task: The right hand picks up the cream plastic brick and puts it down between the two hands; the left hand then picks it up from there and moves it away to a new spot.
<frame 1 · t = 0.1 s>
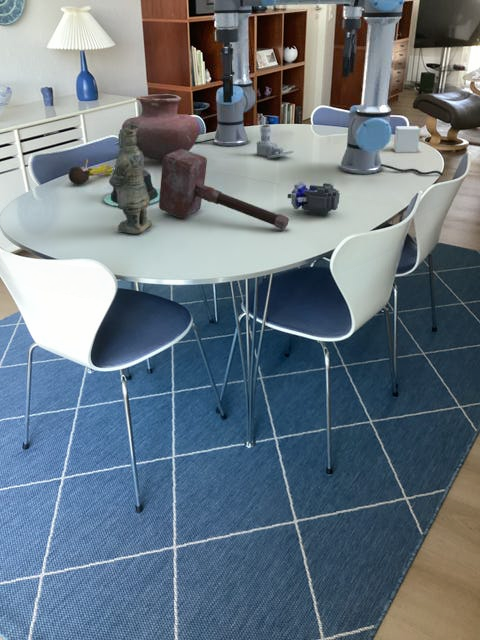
left hand: (347, 74, 237), 28 cm above the table, tool pointing down, fingers open, 13 cm apart
right hand: (228, 99, 188), 28 cm above the table, tool pointing down, fingers open, 13 cm apart
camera: (272, 156, 230), on the table
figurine: (99, 178, 208), on the table
dark dome on dish: (134, 197, 187), on the table
clay pot: (163, 160, 228), on the table
brick: (405, 150, 235), on the table
toy: (312, 213, 171), on the table
statue: (134, 229, 162), on the table
sledgehammer: (224, 220, 166), on the table
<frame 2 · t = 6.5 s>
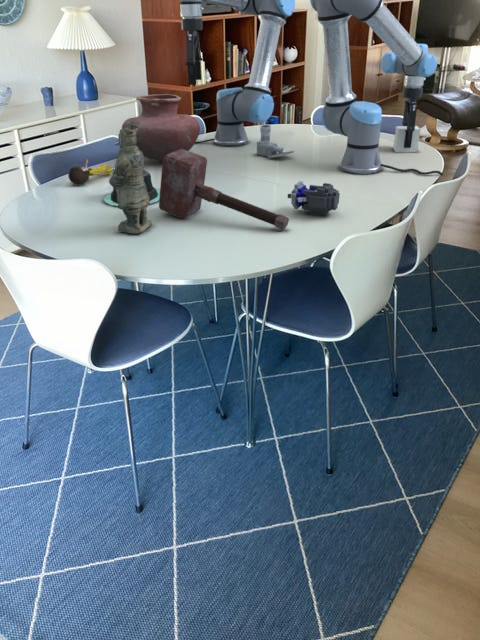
left hand: (195, 82, 209), 30 cm above the table, tool pointing down, fingers open, 13 cm apart
right hand: (405, 145, 234), 2 cm above the table, tool pointing down, fingers closed on brick, 6 cm apart
brick: (405, 150, 235), on the table, touching right hand
everything else where it was.
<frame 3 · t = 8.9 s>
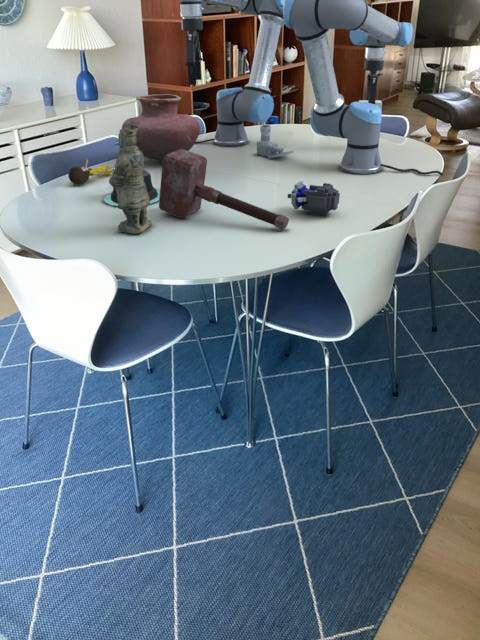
left hand: (195, 82, 209), 30 cm above the table, tool pointing down, fingers open, 13 cm apart
right hand: (368, 120, 232), 12 cm above the table, tool pointing down, fingers closed on brick, 6 cm apart
brick: (368, 125, 233), point 10 cm above the table, touching right hand
everything else where it was.
when the right hand's fingers open (4 cm above the table, at t = 11.5 s): brick drops 2 cm, on the table.
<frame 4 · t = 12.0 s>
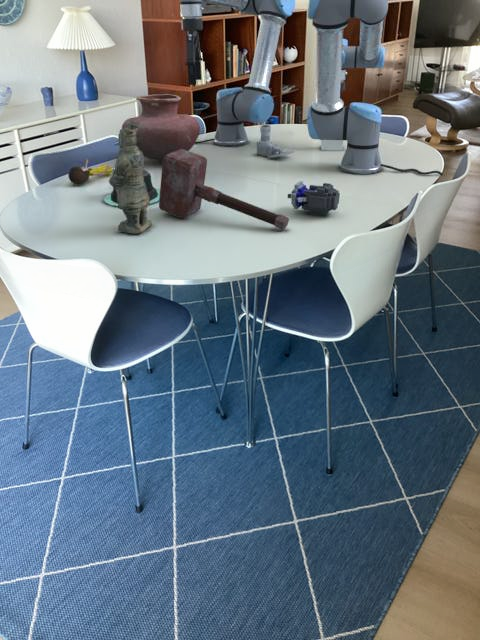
left hand: (195, 82, 209), 30 cm above the table, tool pointing down, fingers open, 13 cm apart
right hand: (332, 134, 238), 6 cm above the table, tool pointing down, fingers open, 13 cm apart
brick: (331, 148, 241), on the table
everything else where it was.
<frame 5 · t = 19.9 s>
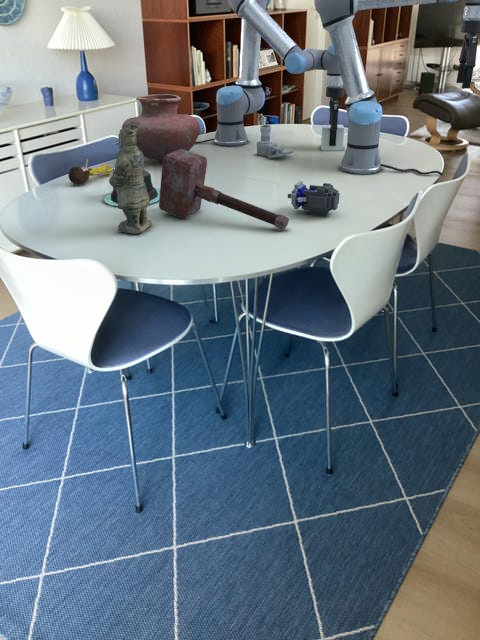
left hand: (331, 143, 240), 2 cm above the table, tool pointing down, fingers closed on brick, 6 cm apart
right hand: (462, 85, 203), 28 cm above the table, tool pointing down, fingers open, 13 cm apart
brick: (331, 148, 241), on the table, touching left hand
everything else where it was.
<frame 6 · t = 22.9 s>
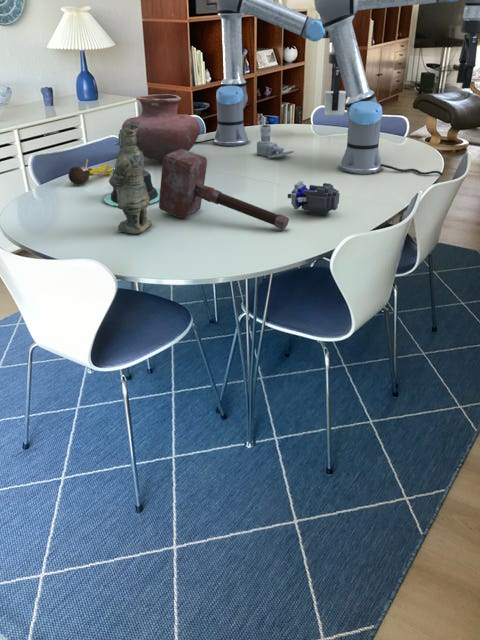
left hand: (334, 109, 254), 12 cm above the table, tool pointing down, fingers closed on brick, 6 cm apart
right hand: (462, 85, 203), 28 cm above the table, tool pointing down, fingers open, 13 cm apart
brick: (334, 113, 255), point 10 cm above the table, touching left hand
everything else where it was.
when the left hand's fingers open (4 cm above the table, at t = 25.8 s): brick drops 2 cm, on the table.
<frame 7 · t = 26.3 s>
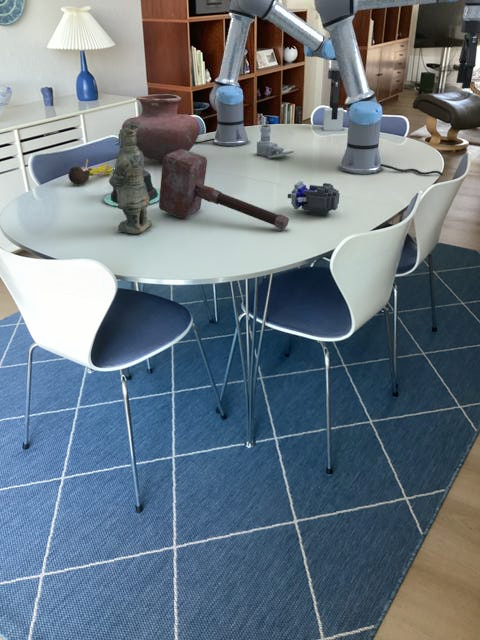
left hand: (333, 116, 272), 6 cm above the table, tool pointing down, fingers open, 13 cm apart
right hand: (462, 85, 203), 28 cm above the table, tool pointing down, fingers open, 13 cm apart
brick: (332, 128, 275), on the table
everything else where it was.
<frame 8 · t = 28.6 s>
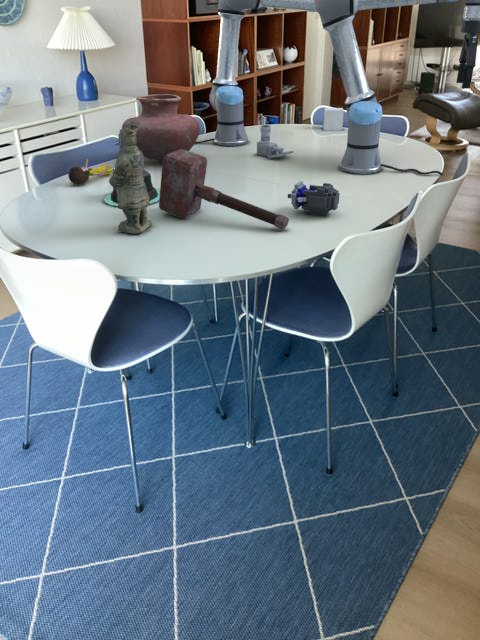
left hand: (335, 76, 263), 24 cm above the table, tool pointing down, fingers open, 13 cm apart
right hand: (462, 85, 203), 28 cm above the table, tool pointing down, fingers open, 13 cm apart
nothing on the table moved.
at the end: brick inside the target area (0.0 cm from its centre), on the table; brick tilted 0°; the two hands never held the brick at the same time; the left hand is holding nothing; the right hand is holding nothing; brick at rest at the end (0.0 cm/s) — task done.
